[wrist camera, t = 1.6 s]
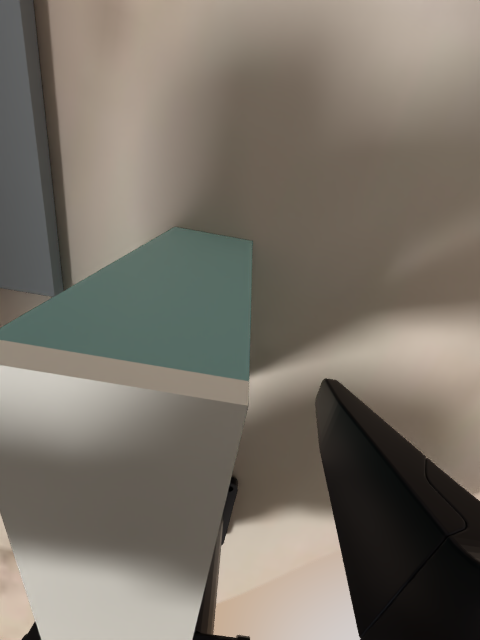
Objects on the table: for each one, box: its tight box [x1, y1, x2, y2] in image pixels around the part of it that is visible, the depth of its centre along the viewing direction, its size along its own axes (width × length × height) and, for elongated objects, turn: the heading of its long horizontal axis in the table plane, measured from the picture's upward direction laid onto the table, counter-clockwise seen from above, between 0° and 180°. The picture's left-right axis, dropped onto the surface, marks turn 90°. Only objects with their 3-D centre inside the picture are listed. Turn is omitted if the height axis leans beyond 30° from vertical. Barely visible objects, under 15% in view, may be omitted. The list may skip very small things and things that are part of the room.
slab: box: [0, 227, 253, 640], centre depth 8 cm, size 7×3×9 cm, turn 170°
